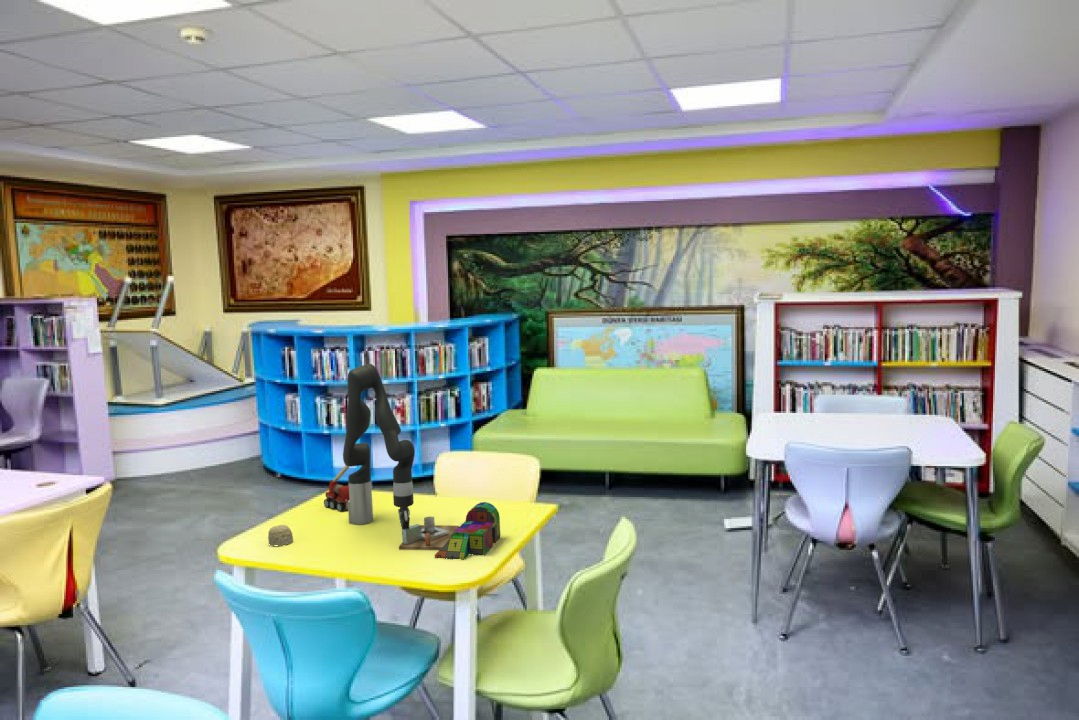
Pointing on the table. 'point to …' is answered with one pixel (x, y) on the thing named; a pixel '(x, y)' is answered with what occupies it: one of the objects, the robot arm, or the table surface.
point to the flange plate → (420, 534)
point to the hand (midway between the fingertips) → (405, 536)
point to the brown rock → (280, 535)
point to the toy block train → (473, 533)
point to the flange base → (433, 542)
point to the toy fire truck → (337, 494)
